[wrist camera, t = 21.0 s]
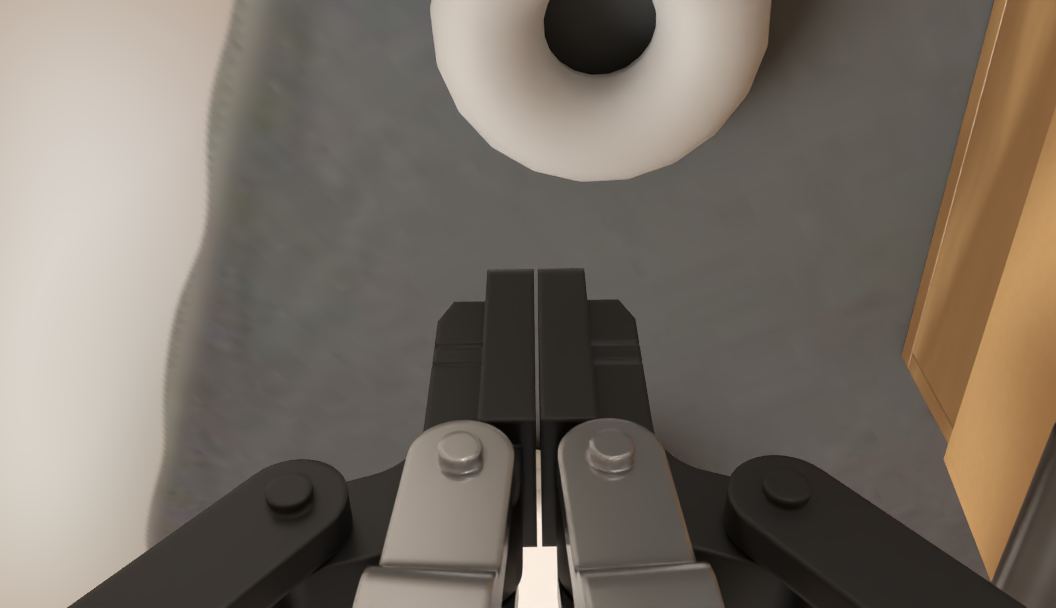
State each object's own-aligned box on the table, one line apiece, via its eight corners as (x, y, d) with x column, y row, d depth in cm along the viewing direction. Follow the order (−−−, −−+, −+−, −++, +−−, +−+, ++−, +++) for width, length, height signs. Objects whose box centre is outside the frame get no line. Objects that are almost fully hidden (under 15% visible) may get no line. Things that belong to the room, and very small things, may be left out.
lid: (1738, 209, 11) (1278, 197, 11) (1161, 928, 20) (932, 908, 21) (1151, -88, 22) (941, -89, 23) (967, 460, 32) (822, 453, 33)
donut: (481, 178, 33) (774, 121, 31) (474, 229, 30) (795, 168, 29) (394, -127, 27) (745, -213, 26) (376, -100, 25) (769, -195, 23)
